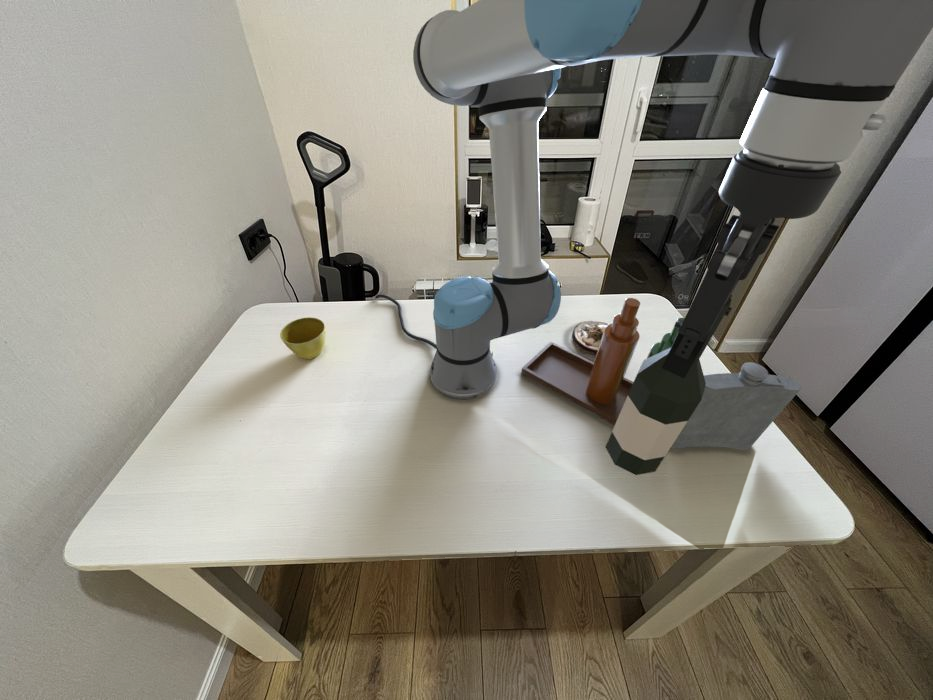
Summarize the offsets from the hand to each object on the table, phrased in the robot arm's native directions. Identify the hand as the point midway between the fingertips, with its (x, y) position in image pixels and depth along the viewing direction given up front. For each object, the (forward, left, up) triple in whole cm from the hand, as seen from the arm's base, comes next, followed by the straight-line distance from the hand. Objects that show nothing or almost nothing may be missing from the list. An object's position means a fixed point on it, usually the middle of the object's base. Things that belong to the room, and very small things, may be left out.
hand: (679, 362), depth 46 cm
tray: (-13, +19, -31) cm, 38 cm away
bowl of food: (-21, +35, -31) cm, 51 cm away
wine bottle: (0, 0, -20) cm, 20 cm away
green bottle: (-3, +19, -30) cm, 36 cm away
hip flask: (+9, +21, -31) cm, 38 cm away
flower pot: (-73, -15, -31) cm, 81 cm away
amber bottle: (-12, +19, -30) cm, 37 cm away
